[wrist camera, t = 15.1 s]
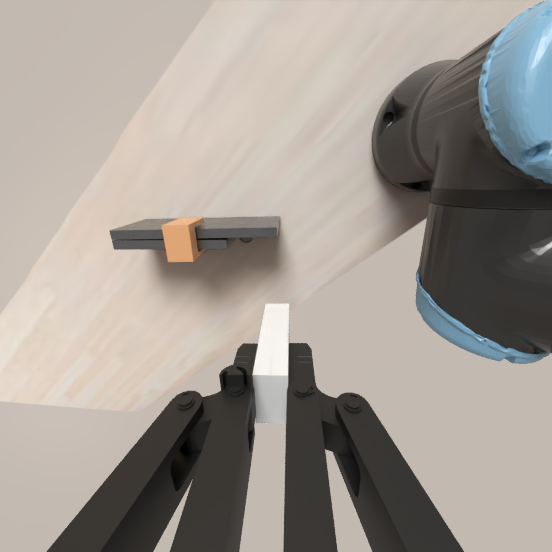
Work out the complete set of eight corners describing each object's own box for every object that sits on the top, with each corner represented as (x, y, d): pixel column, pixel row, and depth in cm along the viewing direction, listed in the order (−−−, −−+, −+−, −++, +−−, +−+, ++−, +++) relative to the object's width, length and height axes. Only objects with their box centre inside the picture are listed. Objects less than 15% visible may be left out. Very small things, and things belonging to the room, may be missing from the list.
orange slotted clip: (203, 217, 36) (188, 225, 31) (207, 248, 38) (193, 261, 32) (181, 217, 37) (161, 225, 31) (186, 249, 38) (168, 262, 33)
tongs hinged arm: (238, 227, 42) (226, 240, 34) (239, 234, 42) (226, 249, 34) (146, 227, 42) (112, 240, 34) (147, 235, 43) (114, 249, 35)
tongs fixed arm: (279, 216, 41) (276, 227, 33) (280, 236, 42) (277, 251, 34) (145, 219, 42) (109, 230, 34) (149, 238, 43) (115, 253, 35)
